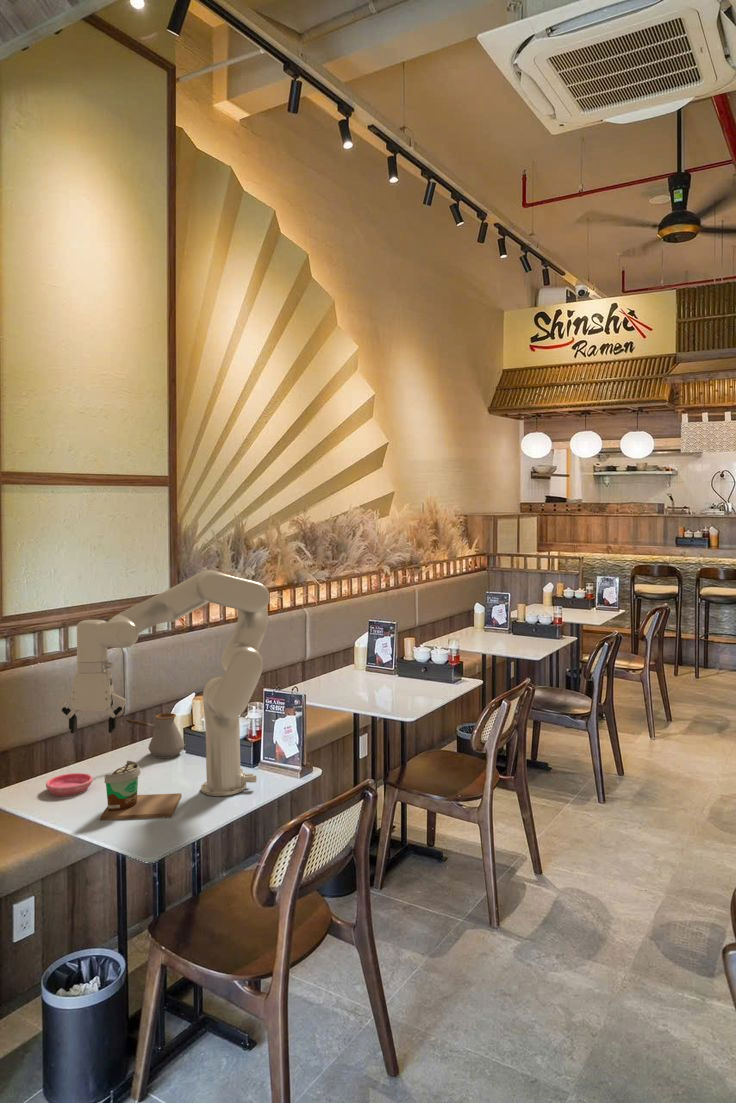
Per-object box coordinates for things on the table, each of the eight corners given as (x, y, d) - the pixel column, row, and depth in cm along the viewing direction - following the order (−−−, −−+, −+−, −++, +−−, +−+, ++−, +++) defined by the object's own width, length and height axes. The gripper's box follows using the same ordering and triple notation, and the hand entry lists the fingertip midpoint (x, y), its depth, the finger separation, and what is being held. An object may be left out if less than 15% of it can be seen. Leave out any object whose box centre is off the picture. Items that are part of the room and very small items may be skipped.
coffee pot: (172, 746, 254) (170, 702, 253) (192, 753, 246) (190, 708, 246) (113, 763, 238) (112, 716, 238) (133, 771, 231) (131, 722, 230)
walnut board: (181, 796, 208) (181, 793, 208) (171, 817, 195) (171, 813, 194) (115, 799, 207) (114, 795, 207) (100, 820, 193) (100, 816, 193)
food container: (127, 814, 194) (126, 776, 193) (105, 813, 195) (104, 775, 195) (149, 797, 206) (148, 760, 206) (128, 795, 207) (127, 759, 207)
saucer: (78, 780, 224) (78, 769, 224) (101, 788, 216) (101, 778, 216) (37, 792, 214) (37, 781, 214) (60, 802, 207) (60, 790, 206)
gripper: (129, 664, 203) (129, 727, 203) (63, 664, 201) (63, 728, 202) (122, 669, 195) (122, 735, 196) (53, 670, 194) (54, 736, 194)
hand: (92, 731), depth 199 cm, fingers open, 9 cm apart
